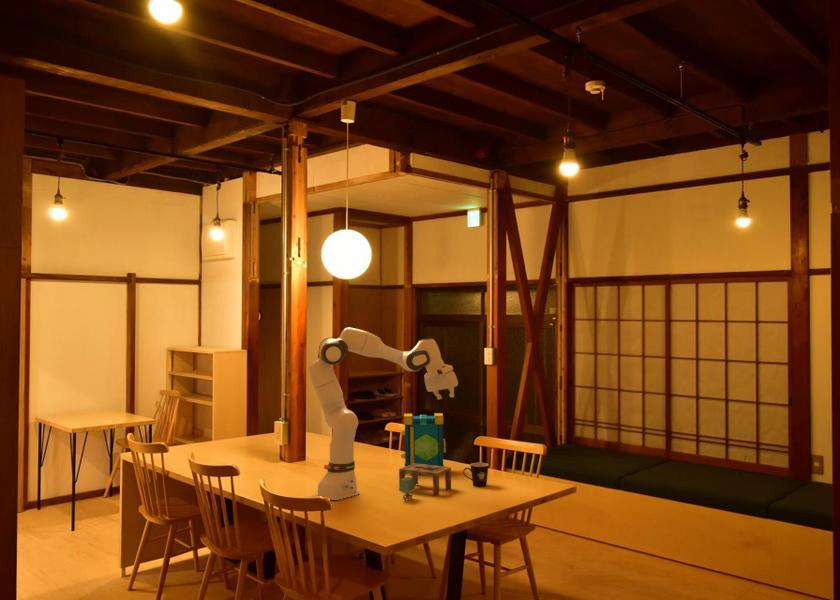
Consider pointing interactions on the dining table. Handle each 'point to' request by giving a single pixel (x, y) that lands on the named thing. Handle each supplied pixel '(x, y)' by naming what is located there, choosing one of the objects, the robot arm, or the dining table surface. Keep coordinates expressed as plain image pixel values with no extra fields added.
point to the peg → (407, 486)
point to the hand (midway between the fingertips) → (446, 398)
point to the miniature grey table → (427, 470)
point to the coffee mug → (478, 474)
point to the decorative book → (424, 440)
